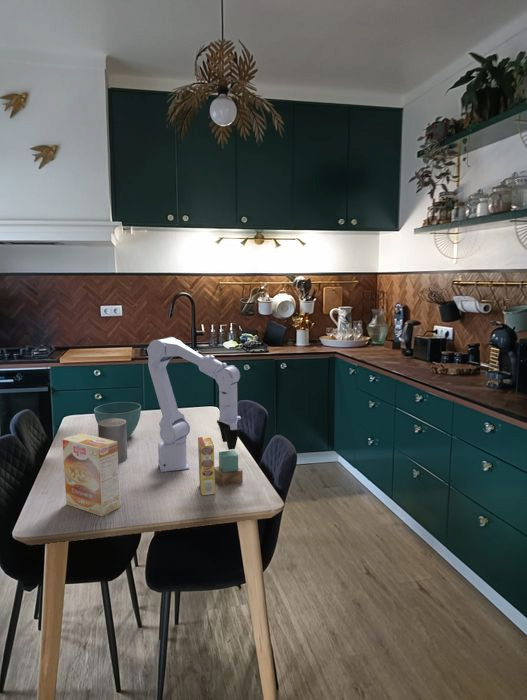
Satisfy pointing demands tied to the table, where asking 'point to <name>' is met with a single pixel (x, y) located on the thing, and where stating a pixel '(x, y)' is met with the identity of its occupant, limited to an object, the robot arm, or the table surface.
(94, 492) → the coffeecake box
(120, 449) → the pillar candle
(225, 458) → the teal cube
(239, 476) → the block
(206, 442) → the candy box
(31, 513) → the table surface
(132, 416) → the green bowl
